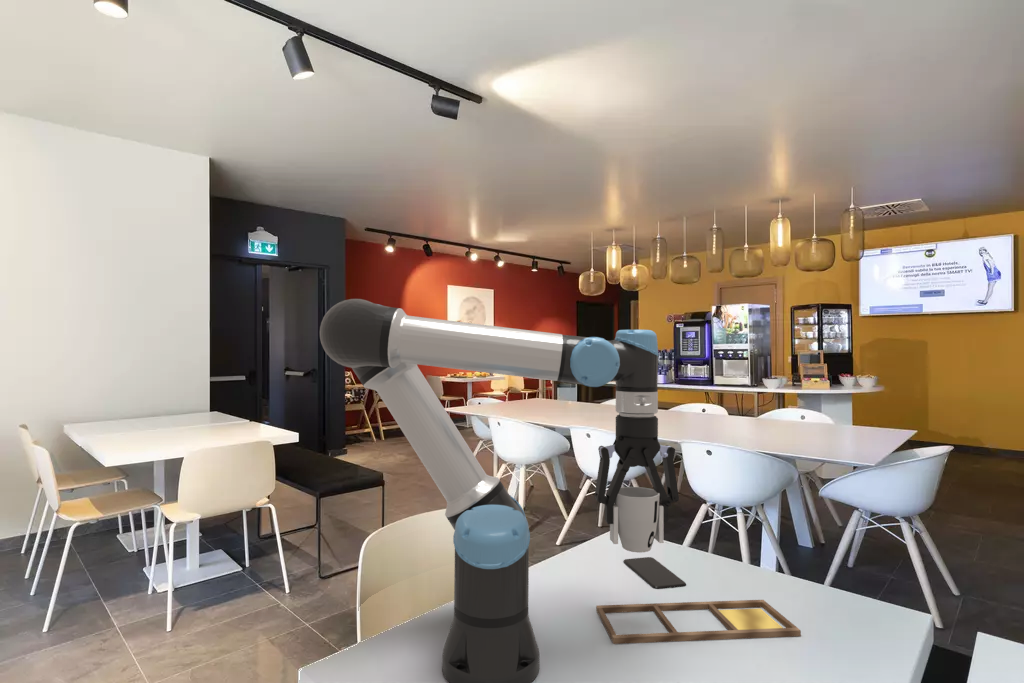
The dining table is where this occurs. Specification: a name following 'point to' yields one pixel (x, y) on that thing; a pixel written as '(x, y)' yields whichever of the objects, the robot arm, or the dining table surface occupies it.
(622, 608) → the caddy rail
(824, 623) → the dining table surface
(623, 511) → the cup
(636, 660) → the dining table surface
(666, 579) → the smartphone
